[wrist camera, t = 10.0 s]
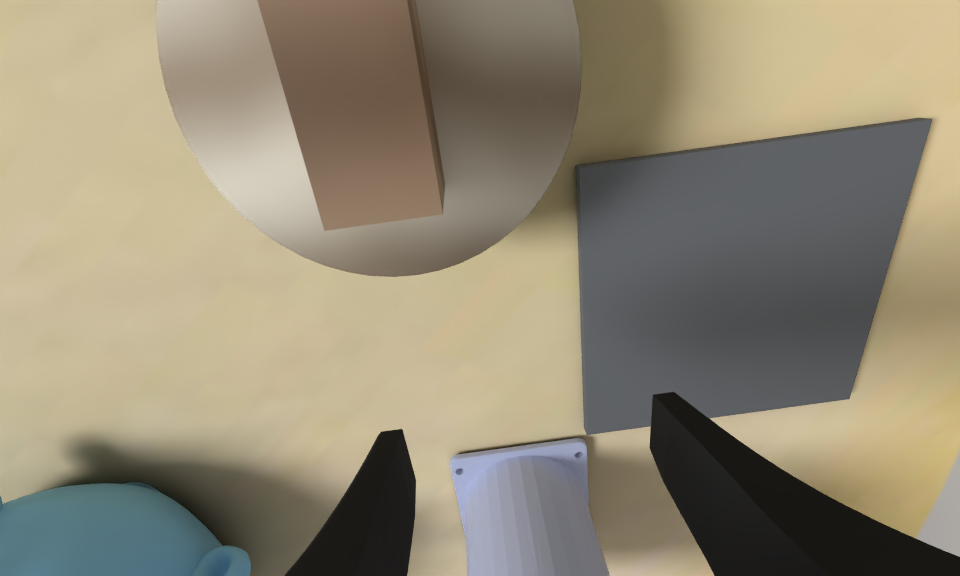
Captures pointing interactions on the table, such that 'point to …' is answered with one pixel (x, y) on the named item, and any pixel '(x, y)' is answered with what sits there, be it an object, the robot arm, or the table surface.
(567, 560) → the robot arm
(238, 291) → the table surface
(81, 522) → the decorative pot
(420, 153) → the lid
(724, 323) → the mat
